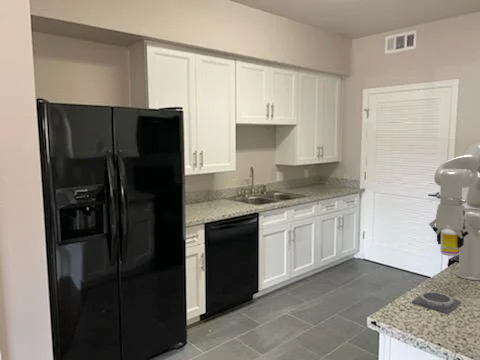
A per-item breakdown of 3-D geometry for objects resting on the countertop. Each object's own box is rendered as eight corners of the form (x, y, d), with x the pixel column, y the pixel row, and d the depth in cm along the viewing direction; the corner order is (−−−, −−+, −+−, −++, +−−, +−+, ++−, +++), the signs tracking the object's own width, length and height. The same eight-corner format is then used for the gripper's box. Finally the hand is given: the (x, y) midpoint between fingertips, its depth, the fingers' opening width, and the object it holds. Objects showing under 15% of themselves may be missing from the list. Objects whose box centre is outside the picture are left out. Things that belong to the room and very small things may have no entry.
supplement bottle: (461, 256, 144) (462, 224, 143) (443, 256, 145) (444, 224, 144) (455, 251, 150) (456, 221, 149) (438, 251, 152) (438, 221, 151)
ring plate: (426, 294, 150) (426, 288, 150) (461, 303, 141) (461, 297, 140) (411, 303, 142) (412, 297, 142) (448, 314, 132) (448, 307, 132)
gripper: (478, 202, 142) (477, 247, 143) (431, 198, 155) (431, 239, 157) (472, 205, 137) (471, 251, 139) (424, 200, 150) (423, 243, 152)
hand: (449, 244), depth 148 cm, fingers closed on supplement bottle, 6 cm apart
